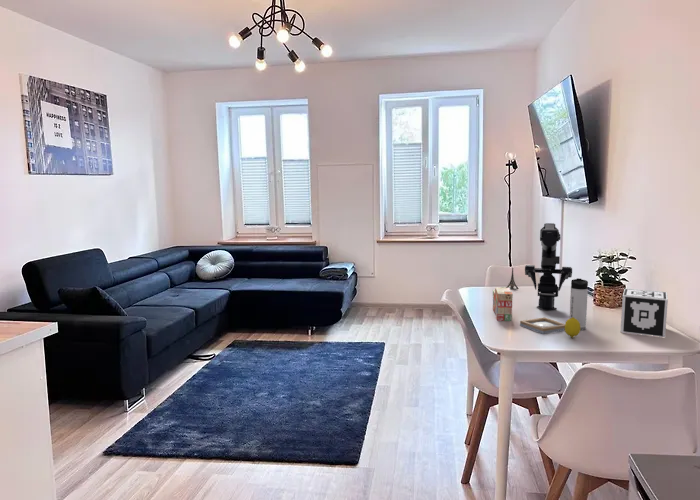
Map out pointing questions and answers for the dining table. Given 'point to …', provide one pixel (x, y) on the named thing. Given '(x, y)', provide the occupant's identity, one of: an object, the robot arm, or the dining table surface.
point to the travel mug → (579, 301)
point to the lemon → (572, 327)
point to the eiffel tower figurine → (511, 283)
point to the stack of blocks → (502, 304)
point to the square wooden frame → (543, 325)
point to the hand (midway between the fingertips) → (547, 290)
